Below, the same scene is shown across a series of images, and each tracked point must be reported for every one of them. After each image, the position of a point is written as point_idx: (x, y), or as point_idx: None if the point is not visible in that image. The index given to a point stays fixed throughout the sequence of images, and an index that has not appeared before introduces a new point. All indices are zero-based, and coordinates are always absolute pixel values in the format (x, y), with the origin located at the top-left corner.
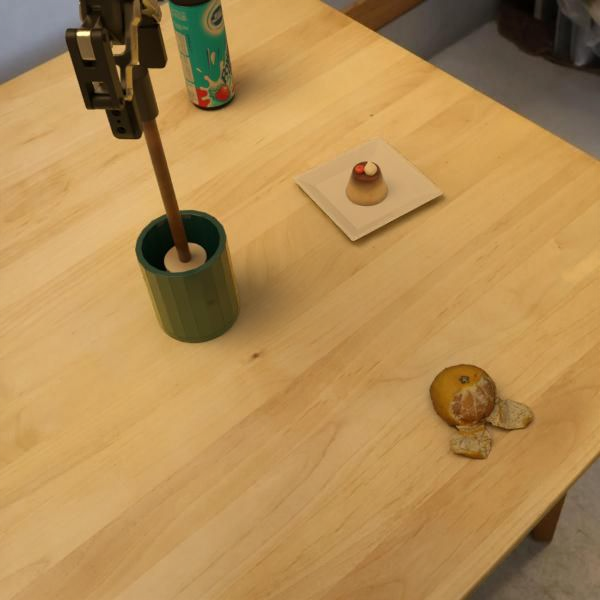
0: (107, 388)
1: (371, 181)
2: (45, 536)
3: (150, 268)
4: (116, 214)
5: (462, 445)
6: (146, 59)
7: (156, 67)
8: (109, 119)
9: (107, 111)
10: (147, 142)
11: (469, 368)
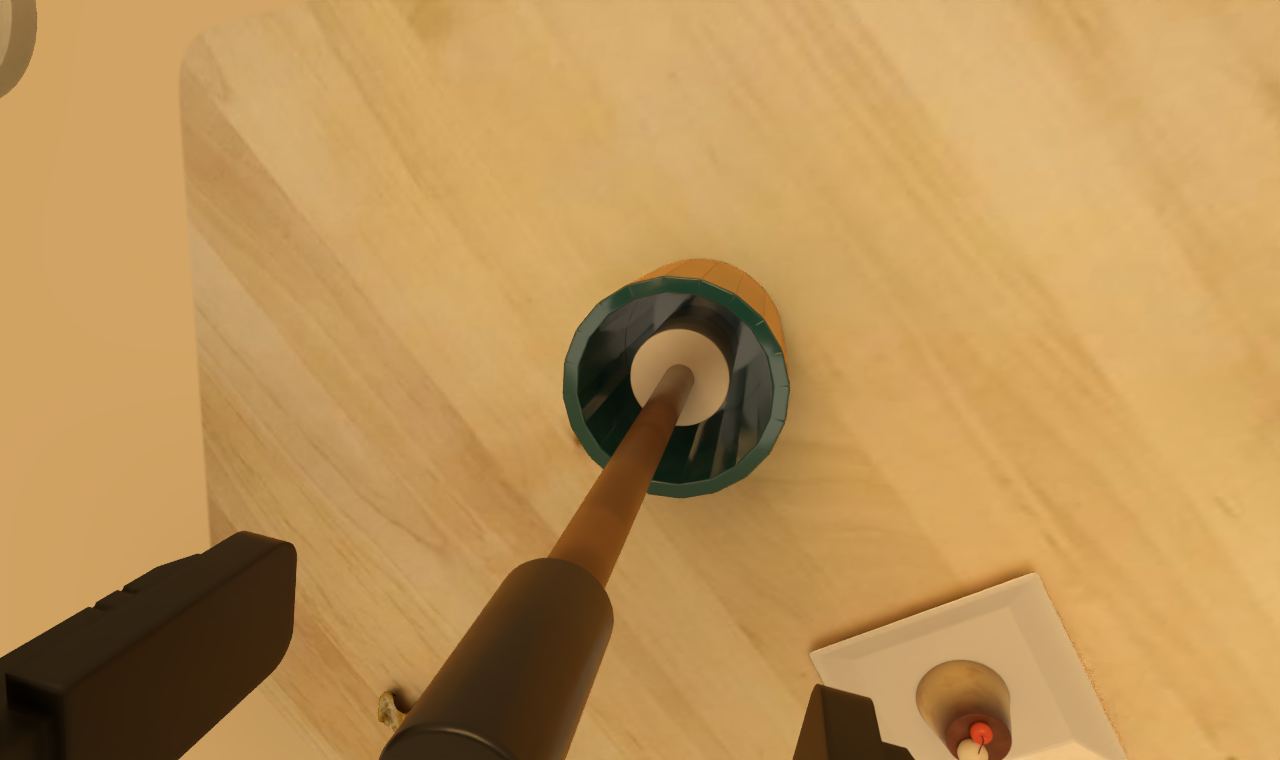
0: (530, 166)
1: (944, 739)
2: (261, 86)
3: (596, 317)
4: (1040, 139)
5: (392, 706)
6: (809, 756)
7: (795, 754)
8: (71, 620)
9: (6, 660)
10: (572, 522)
11: None
